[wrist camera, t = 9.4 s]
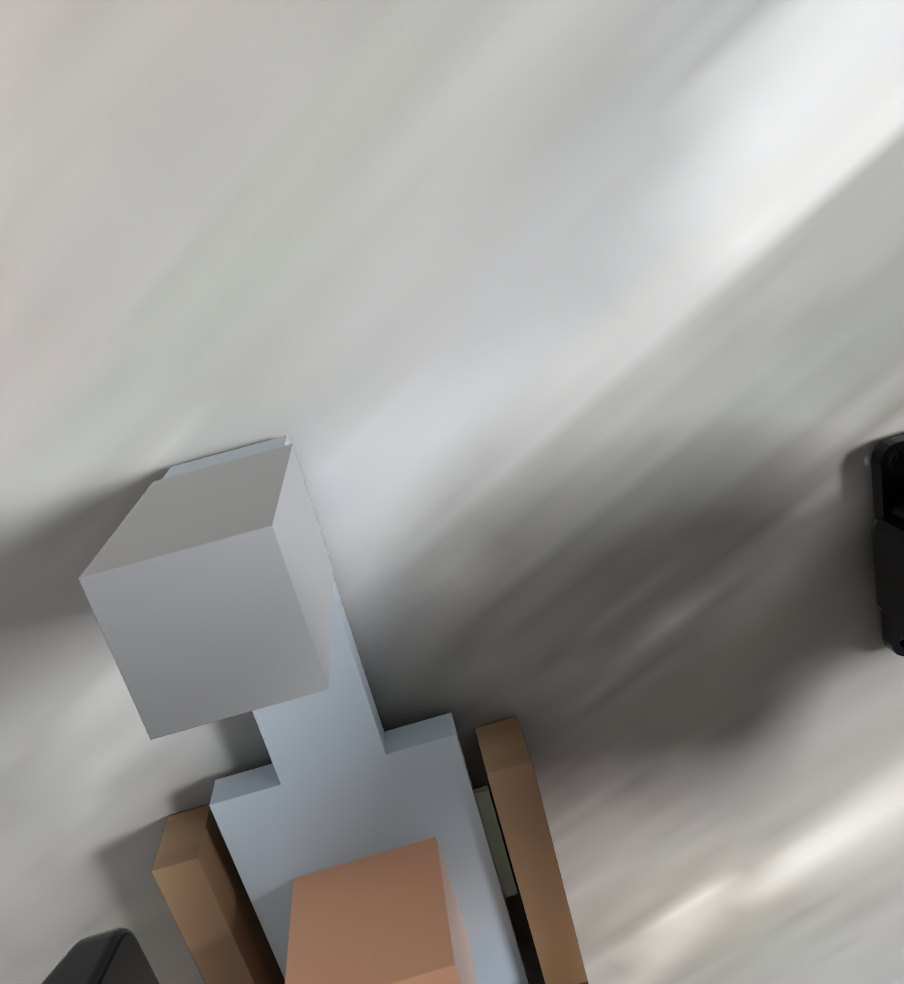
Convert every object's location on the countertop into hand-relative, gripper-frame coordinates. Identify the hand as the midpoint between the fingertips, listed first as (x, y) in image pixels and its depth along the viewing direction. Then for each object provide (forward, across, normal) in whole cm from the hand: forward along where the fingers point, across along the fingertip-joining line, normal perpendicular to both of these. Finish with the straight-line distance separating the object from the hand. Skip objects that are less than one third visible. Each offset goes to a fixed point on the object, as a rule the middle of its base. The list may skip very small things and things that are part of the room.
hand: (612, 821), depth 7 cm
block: (+12, +5, +12) cm, 18 cm away
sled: (+13, +5, +8) cm, 16 cm away
